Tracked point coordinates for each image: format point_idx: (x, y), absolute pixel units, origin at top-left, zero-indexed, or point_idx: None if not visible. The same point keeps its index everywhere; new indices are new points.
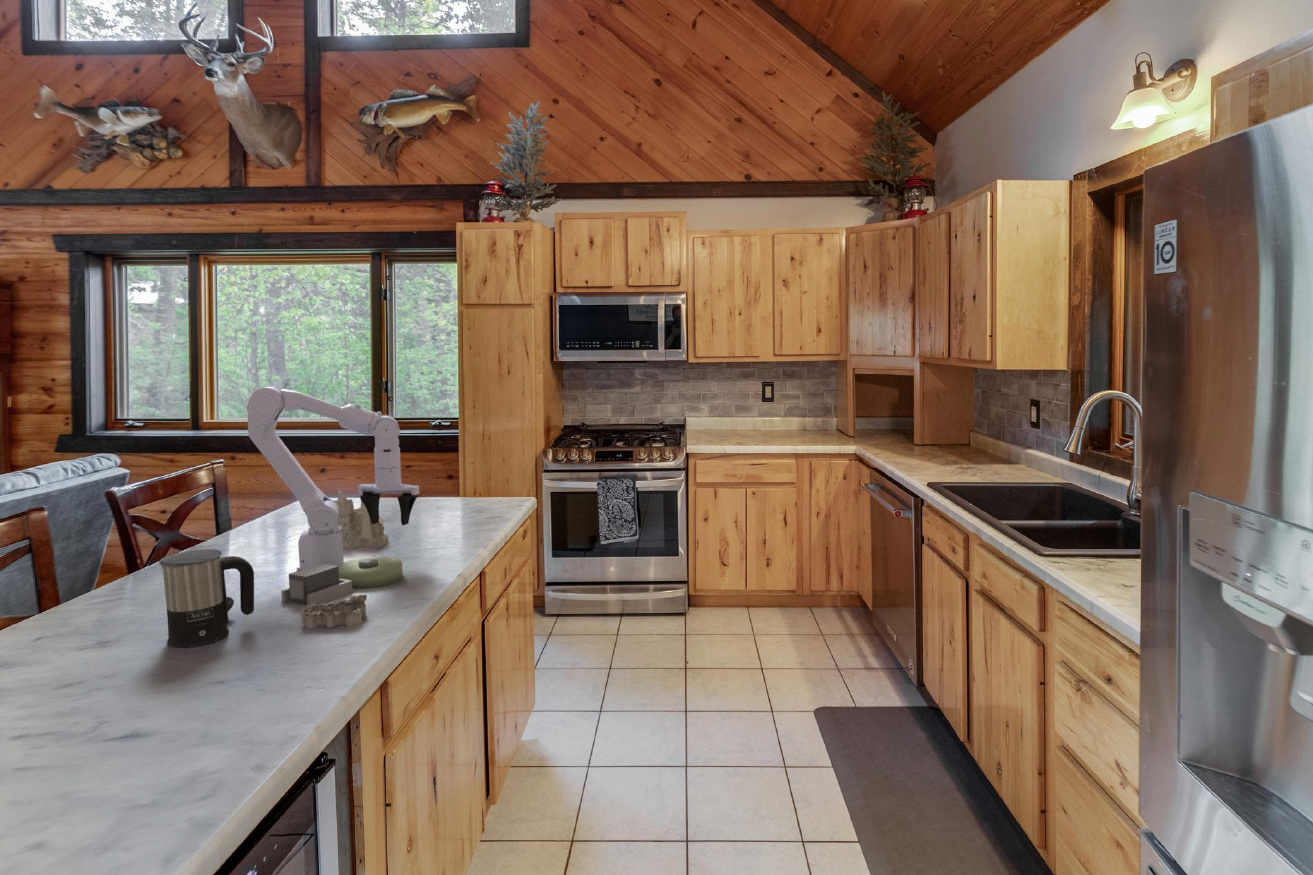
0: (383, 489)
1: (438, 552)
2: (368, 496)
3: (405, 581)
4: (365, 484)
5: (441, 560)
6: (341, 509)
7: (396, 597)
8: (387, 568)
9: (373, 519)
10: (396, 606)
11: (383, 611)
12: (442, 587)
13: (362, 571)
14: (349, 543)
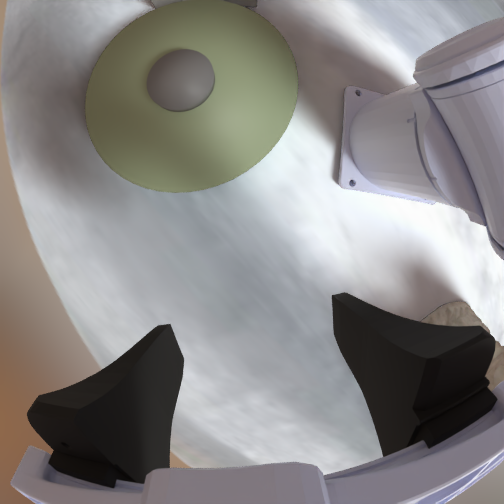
0: (143, 497)
1: (195, 372)
2: (436, 381)
3: (84, 125)
4: (501, 459)
5: (131, 318)
6: (499, 371)
7: (51, 47)
8: (103, 89)
9: (340, 302)
10: (35, 26)
11: (46, 3)
12: (8, 141)
13: (156, 34)
14: (437, 324)
